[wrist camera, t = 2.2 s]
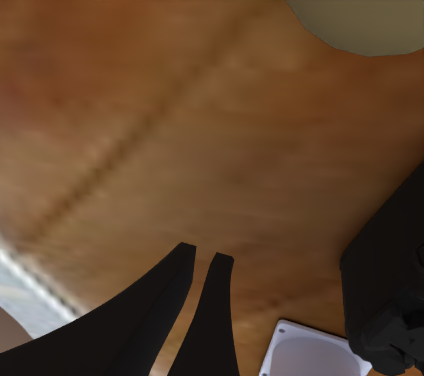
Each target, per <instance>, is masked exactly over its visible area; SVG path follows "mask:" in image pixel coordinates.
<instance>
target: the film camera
mask: <svg viewBox="0 0 424 376" xmlns="http://www.w3.org/2000/svg"><path fill="white" fill-rule="evenodd" d="M340 270H341V278H342V292H343V305H344V316H345V333H346V336H347V339H348V344H349V347H350V349H351V351H352V352H353V354H355V355H358V356H359V357H360V358H361V359H362V360H363V361H366V362H370V363H371V365H372V367H373V369H374V370H375V371H377V372H379V373H381V374H384V375H388V376H396V375H399V374H403V373H405V369H409V368H411V367H412V366H413V365H415V368H417V369H418V370H420V371H421V373H422V374H423V376H424V161H423V162H422V163H421V164H420V165H419V166H418V168H417V169H416V170H415V171H414V172H413V173H412V174H411V175H410V176H409V178H408V179H407V180H406V181H405V182H404V183H403V184H402V185H401V186H400V187H399V188H398V189H397V190H396V191H395V193H394V194H393V195H392V196H391V197H390V198H389V200H388V201H387V202H386V203H385V204H384V205H383V206H382V207H381V208H380V210H379V211H378V212H377V213H376V214H375V215H374V216H373V218H372V219H371V220H370V221H369V222H368V223H367V224H366V225H365V227H364V228H363V229H362V230H361V232H360V233H359V234H358V235H357V236H356V238H355V239H354V240H353V241H352V243H351V244H350V245H349V246H348V248H347V249H346V250H345V252H344V254H343V255H342V258H341V260H340Z"/></svg>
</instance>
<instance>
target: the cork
mask: <svg viewBox="0 0 424 376" xmlns="http://www.w3.org/2000/svg"><path fill="white" fill-rule="evenodd" d="M286 2H287V3H288V5H289V6H290V8H291V9H292V10H293V12H294V13H295V15H296V16H297V18H298V19H299V20H300V22H301V23H302V25H303V26H304V28H305V29H307V30H308V31H310V32H311V33H312V34H314V35H315V36H317V37H318V38H320V39H321V40H323V41H324V42H325V43H327V44H328V45H330V46H331V47H333V48H335V49H339V50H343V51H347V52H351V53H355V54H359V55H363V56H367V57H372V56H386V55H400V54H409V53H412V52H415V51H417V50H420V49H423V48H424V0H286Z"/></svg>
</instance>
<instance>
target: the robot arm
mask: <svg viewBox="0 0 424 376" xmlns="http://www.w3.org/2000/svg"><path fill="white" fill-rule="evenodd" d="M195 254H196V246H194V245H190V244H187V243H183V242H181V243H179V244H178V245H177V246H176V247H175V248H174V249H173V250H172V251H171V252H170V253H169V254H168V255H167V256H166V257H165V258H163V259H162V260H161V261H160V262H159V263H158V264H157V265H155V266H154V267H153V268H152V269H151V270H149V271H148V272H147V273H146V274H145V275H143V276H142V277H141V278H140V279H138V280H137V281H136V282H134V283H133V284H132V285H130V286H129V287H128V288H126V289H125V290H124V291H122V292H121V293H119V294H118V295H116V296H115V297H113V298H112V299H110V300H109V301H107V302H106V303H104V304H102V305H101V306H99V307H97V308H96V309H94V310H92V311H90V312H89V313H87V314H85V315H84V316H82V317H80V318H78V319H76V320H74V321H72V322H71V323H68V324H66V325H64V326H62V327H60V328H58V329H56V330H54V331H52V332H50V333H48V334H46V335H44V336H41V337H39V338H37V339H34V340H32V341H30V342H27V343H25V344H23V345H20V346H17V347H15V348H12V349H10V350H8V351H5V352H3V353H0V376H148V375H149V373H150V370H151V368H152V366H153V364H154V362H155V360H156V357H157V355H158V353H159V351H160V350H161V348H162V346H163V344H164V342H165V340H166V338H167V336H168V334H169V332H170V330H171V328H172V326H173V325H174V323H175V321H176V319H177V317H178V315H179V313H180V311H181V309H182V307H183V305H184V302H185V300H186V297H187V295H188V292H189V289H190V287H191V284H192V280H193V272H194V263H195ZM233 263H234V259H233V257H232V256H228V255H225V254H221V253H218V252H217V253H216V254H215V256H214V258H213V260H212V262H211V264H210V267H209V270H208V273H207V277H206V280H205V283H204V287H203V290H202V293H201V297H200V300H199V303H198V307H197V310H196V312H195V315H194V318H193V320H192V323H191V325H190V327H189V329H188V332H187V334H186V336H185V338H184V341H183V343H182V345H181V347H180V349H179V351H178V354H177V356H176V358H175V360H174V362H173V364H172V366H171V368H170V370H169V372H168V375H167V376H240V375H239V370H238V365H237V359H236V353H235V347H234V340H233V332H232V322H231V309H230V280H231V272H232V268H233ZM371 368H372V365H371V363H370V362H366V361H363V360H362V359H361V358H360V357H359V356H358V355H355V354H353V352H352V351H351V349H350V347H349V344H348V340H346V339H343V338H340V337H337V336H334V335H330V334H327V333H324V332H321V331H318V330H315V329H312V328H308V327H305V326H302V325H299V324H296V323H293V322H290V321H286V320H279V321H278V323H277V325H276V328H275V331H274V334H273V336H272V339H271V342H270V345H269V347H268V350H267V353H266V356H265V358H264V361H263V364H262V367H261V369H260V372H259V375H258V376H366V375H367V373H368V372H369V371H370V369H371Z"/></svg>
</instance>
